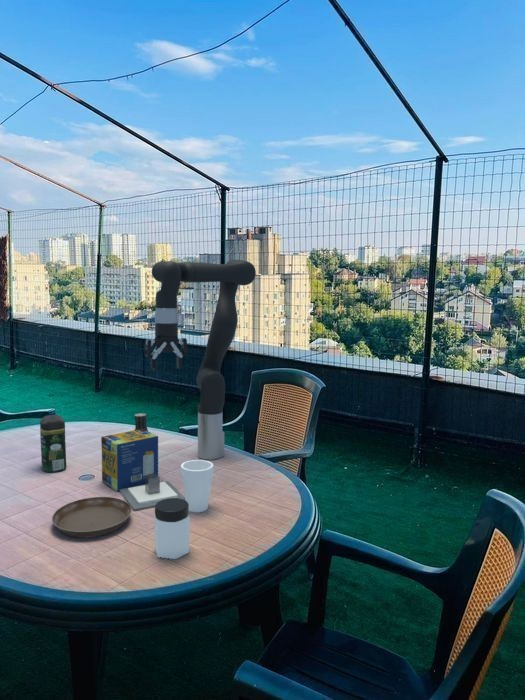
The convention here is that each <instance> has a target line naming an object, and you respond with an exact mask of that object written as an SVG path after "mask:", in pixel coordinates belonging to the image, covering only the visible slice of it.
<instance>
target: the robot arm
mask: <svg viewBox="0 0 525 700" xmlns="http://www.w3.org/2000/svg"><path fill="white" fill-rule="evenodd" d="M256 273H257V271H256V268H255V266H254V264H253V263H251V262H250V261H248V260H243V259H242V260H241V259H229V260H228V261H227V262H226V263H223V264H221V263H212V262H203V261H183V262H175V261H174V260H173V261H172V260H171V261H170V260H167V261H165V260H164V261H157V262H156V263H154V264H153V266H152V267H151V276H152V278H153V279H154V280H155V281H157V282H158V283H161V286H160V290H158V291H157V292H156V293H155V311H154V339H149V338H147V339H146V340H145V345H144V356H145V357H146V358H148V359H150V368H151V369H152V370H153V371H157V357H158V355H160V354H161V352H162V353H166V352H168V353H169V352H173V353H174V354H175V355H176V358H175V359H176V360H175V361H176V364H175V365H176V369H180V370H181V368H182V367H183V357H186V356H188V355H189V354H188V339H187V337H182V338H179V336H178V334H179V332H178V331H179V323H178V322H179V316H178V315H179V313H178V293H179V290H180V286H181V282H182V283H216V282H218V283H220V287H219V294H218V297H217V303H216V306H215V311H214V315H213V319H212V322H211V325H210V329H209V333H208V334H209V335H208V339H207V344H206V348H205V353H204V357H203V359H202V362H201V365H200V367H199V369H198V370H199V371H198V373H197V375H196V381H195V382H196V385H197V388H198V389H199V390H200V398H199V399H200V400H199V401H200V402H199V404H198V405H197V457H198V458H199V459H200V460H205V461H209V460H218V459H220V458H222V457H225V431H223V409H224V405H225V400H226V399H225V397H226V395H225V394H226V383H225V377H224V376H223V374H222V373H221V367H222V362H223V360H224V357H225V355H226V353H227V351H228V349H229V348H230V346H231V344H232V343H233V341H234V337H235V334H236V330H237V326H238V318H239V317H238V312H237V311H238V310H237V307H236V306H237V305H236V297H237V295H236V294H237V292H238V291H237V290H238V287H239V286H249V285H250V284H252V283H253V282H254V280H255V279H256V275H257V274H256ZM178 344H180V345H181V347H180V348H181V351H180V349H179V348H178V347H177V346H178ZM152 346H155V348H154V349H153V351H152Z"/></svg>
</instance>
